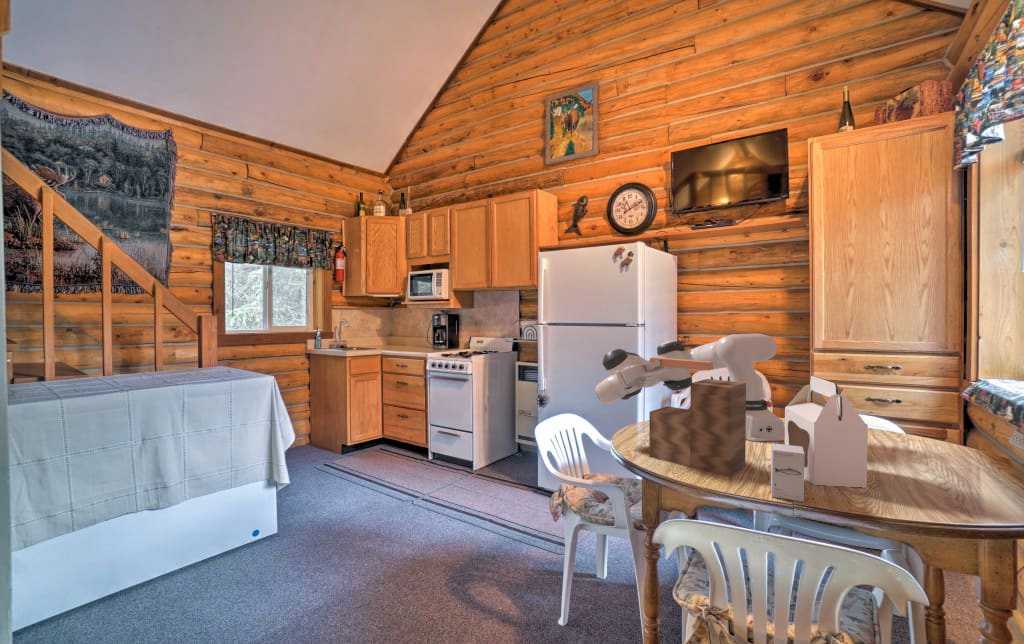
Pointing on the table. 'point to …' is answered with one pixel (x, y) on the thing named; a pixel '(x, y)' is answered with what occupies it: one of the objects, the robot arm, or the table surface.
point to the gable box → (828, 435)
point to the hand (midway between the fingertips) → (664, 360)
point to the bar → (684, 363)
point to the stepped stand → (703, 428)
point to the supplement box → (787, 472)
